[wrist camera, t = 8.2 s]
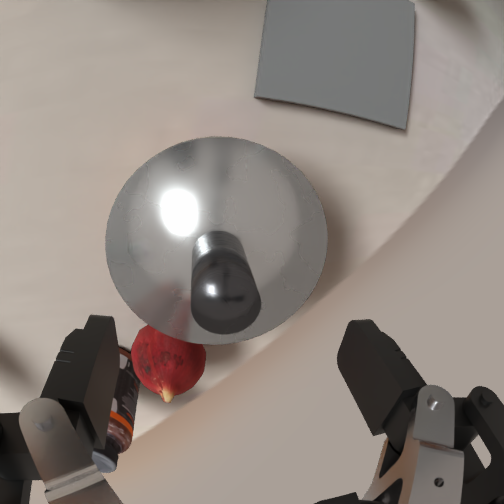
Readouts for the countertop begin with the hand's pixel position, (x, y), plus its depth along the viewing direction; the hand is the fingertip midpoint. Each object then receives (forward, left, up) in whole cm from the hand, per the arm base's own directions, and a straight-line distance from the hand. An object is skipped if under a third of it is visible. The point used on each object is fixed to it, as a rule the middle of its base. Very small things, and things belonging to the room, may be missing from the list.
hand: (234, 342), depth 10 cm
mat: (-15, +8, -14) cm, 22 cm away
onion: (+10, -3, -14) cm, 18 cm away
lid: (0, 0, -8) cm, 8 cm away
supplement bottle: (+15, -9, -14) cm, 23 cm away
